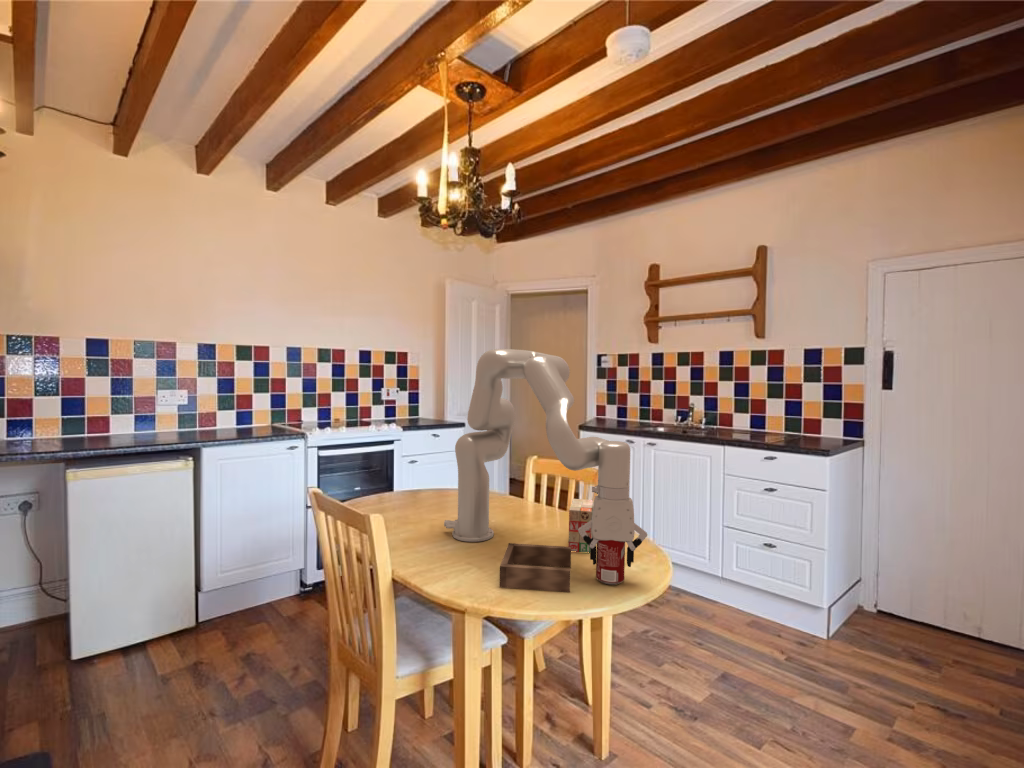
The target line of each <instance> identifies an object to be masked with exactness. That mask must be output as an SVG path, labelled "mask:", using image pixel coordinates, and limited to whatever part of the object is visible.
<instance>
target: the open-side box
mask: <svg viewBox="0 0 1024 768" xmlns="http://www.w3.org/2000/svg"><path fill="white" fill-rule="evenodd" d="M571 566H572V552H571V547H568V546H563V545H545V544H544V545H543V544H532V543H531V544H529V543H528V544H527V543H512V542H509V543H508V544H507V546H506V549H505V552H504V555H503V557H502V559H501V563H500V565H499V588H508V589H520V590H533V591H535V590H536V591H547V592H549V591H550V592H561V593H562V592H563V593H570V592H571V568H572V567H571Z"/></svg>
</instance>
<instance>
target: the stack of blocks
mask: <svg viewBox="0 0 1024 768" xmlns="http://www.w3.org/2000/svg"><path fill="white" fill-rule="evenodd" d="M593 503H594V500H593V499H581V498H572V501H571V504H570V507H569V509H568V512H569V513H568V542H567V543H568V546H567V547H571V551H576V552H575V553H577V552H589V553H590V546H589V545H588V544H587V543H586V542H585V541H584V539H583V538H582V536H581V535H580V534H579V532H578V529H579V528H580V527H581V526H583V525H584V524H586V523H587V522H589V521H591V520H592V511H593ZM585 532H586V534H587V535H588V536H589V537H590V538H592V533H591V528H590V529H588V530H587V531H585ZM589 553H588V554H589Z"/></svg>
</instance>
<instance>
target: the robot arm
mask: <svg viewBox="0 0 1024 768" xmlns="http://www.w3.org/2000/svg"><path fill="white" fill-rule="evenodd" d="M570 371H571V369H570V367H569V364H568V362H566V360H565V359H564V358H562V357H561V356H558V355H553V354H547V353H543V352H538V351H534V350H527V349H526V350H525V349H513V348H495V349H490V350H487V351H486V352H484V353H482V355H481V356H479V359H478V361H477V363H476V370H475V380H474V387H473V389H472V394H471V397H470V403H469V407H468V411H467V419H466V420H467V424H468V426H469V427H470V428H471V429H472V430H474V432H473V431H472V432H468V433H465V434H462V435H461V436H460V437H459V438H458V439H457V440H456V443H455V447H454V450H455V458H456V464H457V465H456V466H457V519H454V520H451V519H445V520H444V521H443V526H444V527H445V528H446V529H453V531H452V537H453V538H454V539H456V540H457V541H460V542H466V543H467V542H468V543H475V542H477V543H478V542H483V541H484V542H485V541H488V540H490V539H492V538H493V537H494V533H495V532H494V530H493V529H492V528H490V522H489V521H490V475H489V472H488V469H487V467H486V465H485V463H488V462H494V461H498V460H501V459H502V458H503V457H504V456H505V455H506V453H507V451H508V448H509V445H510V442H511V437H512V433H513V429H514V426H515V420H516V410H515V407H514V405H513V403H512V402H511V401H510V400H508V399H507V398H503V397H502V395H503V389H504V387H503V382H502V379H503V380H504V379H505V380H506V379H507V380H508V379H509V380H511V379H514V380H516V379H517V380H518V379H519V380H520V379H521V380H523V379H525V380H526V382H527V383H528V386H529V387H530V389H531V390H532V392H533V394H534V396H535V397H536V399H537V401H538V403H540V406H541V408H542V410H543V411H544V413H545V429H546V430H545V431H546V437H547V440H548V443H549V445H550V447H551V449H552V451H553V453H554V454H555V456H556V458H557V459H558V460H559V462H560V463H561V464H562V465H563V467H565V469H566V468H567V470H571V471H577V472H578V471H581V470H586V469H589V468H595V467H598V469H597V470H598V471H597V476H598V477H597V485H595V486H591V493H595V494H596V495H595V496H594V500H593V502H594V503H593V511H592V520H591V521H589V522H587V523H586V524H584V525H583V526H581V527H580V528H579V529H578V532H579V534H580V535H581V536H582V538H583V539H584V541H585V542H586V543H587V544H588V545H589V546H590V554H589V560H591V561H592V565H594V566H596V560H597V542H598V541H599V540H600V541H606V540H614V541H619V542H625V543H626V544H627V545H628V546H627V547H626V564H627V567H628V568H631V567H632V563H634V559H635V554H634V553H635V551H636V549H637V548H638V547H639V546H640V545H641V544H642V543H643V542H644V541H645V539H646V538H647V537H648V533H647V532H646V530H645V529H643V528H642V527H640V526H639V525H638V524H637V523H636V522H635V509H634V503H633V502H634V501H633V499H632V498H631V497H630V478H631V477H630V476H631V475H630V473H631V446H630V445H629V443H626V442H624V441H619V440H608V439H604V438H602V437H598V436H588V437H582V438H577V437H576V435H575V434H574V432H573V430H572V429H571V426H570V424H569V421H568V411H569V410H570V409H571V408H572V407H573V405H574V403H575V397H574V395H573V394H572V392H571V391H570V389H569V387H568V386H567V384H566V382H567V381H568V380H569V378H570V373H571V372H570ZM590 528H591V533H592V538H590V537H589V536H588V535H587V534H586V532H585V531H587V530H588V529H590ZM635 532H636V533H638V534H639V535H638V536H637V537H636V538H635Z"/></svg>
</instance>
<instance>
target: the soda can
mask: <svg viewBox="0 0 1024 768" xmlns="http://www.w3.org/2000/svg"><path fill="white" fill-rule="evenodd" d="M625 554H626V542H619V541H614V540H606V541H600V540H599V541H598V542H597V544H596V564H595V568H596V569H595V578H596V579H597V581H599V582H600V583H602V584H603V585H604V584H605V585H609V586H616V584H617V585H619V584H621V583H624V581H625V567H626V566H625V565H626V564H625V560H626V559H625V558H626V555H625Z"/></svg>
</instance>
